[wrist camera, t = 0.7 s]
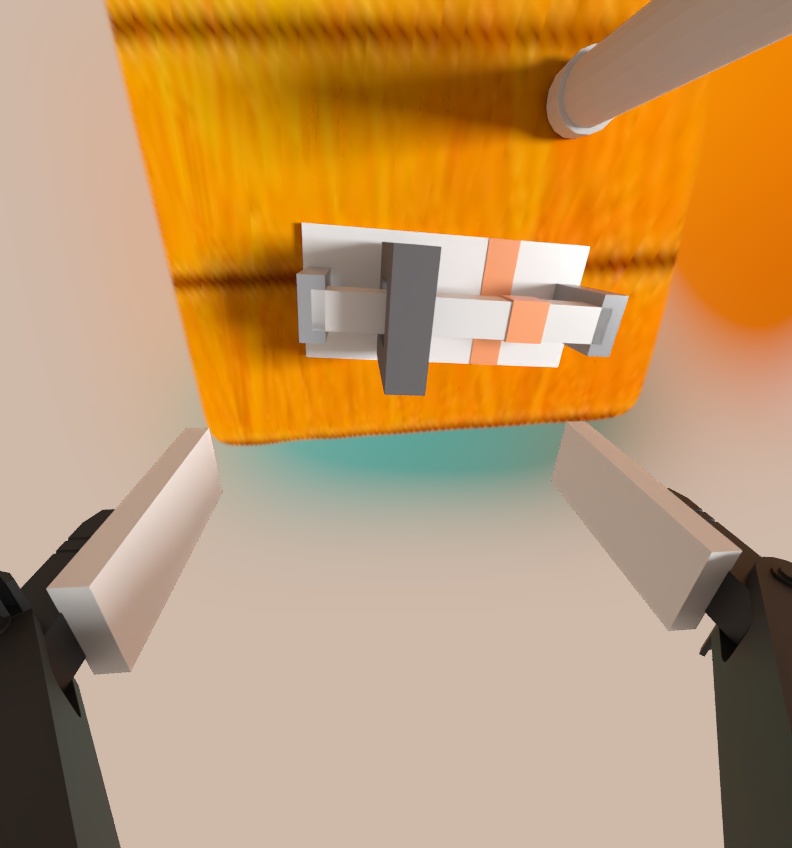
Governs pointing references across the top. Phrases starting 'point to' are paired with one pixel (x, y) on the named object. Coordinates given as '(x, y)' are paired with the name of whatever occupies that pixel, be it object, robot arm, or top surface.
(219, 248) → the top surface
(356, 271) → the rail
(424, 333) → the collar
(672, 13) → the pipe
